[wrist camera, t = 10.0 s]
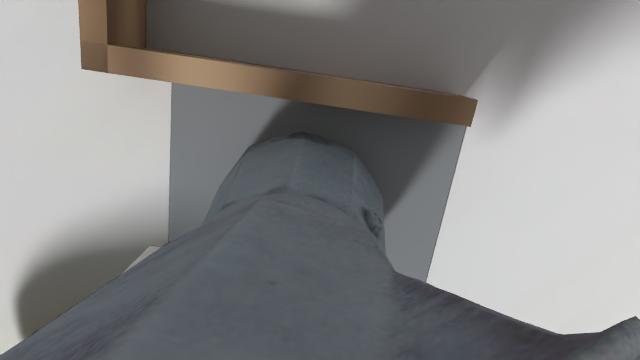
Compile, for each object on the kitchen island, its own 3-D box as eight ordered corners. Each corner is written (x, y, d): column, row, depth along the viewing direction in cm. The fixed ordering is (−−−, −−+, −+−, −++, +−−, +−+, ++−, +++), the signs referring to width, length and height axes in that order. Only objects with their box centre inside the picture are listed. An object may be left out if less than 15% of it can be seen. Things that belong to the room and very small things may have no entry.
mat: (168, 279, 24) (167, 280, 24) (173, 81, 20) (171, 81, 20) (415, 315, 24) (416, 316, 24) (464, 124, 20) (466, 125, 20)
